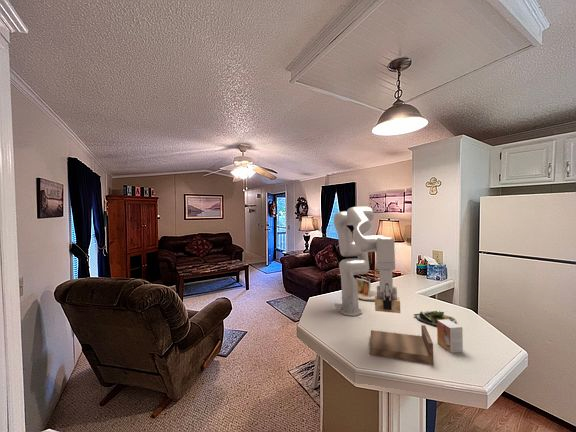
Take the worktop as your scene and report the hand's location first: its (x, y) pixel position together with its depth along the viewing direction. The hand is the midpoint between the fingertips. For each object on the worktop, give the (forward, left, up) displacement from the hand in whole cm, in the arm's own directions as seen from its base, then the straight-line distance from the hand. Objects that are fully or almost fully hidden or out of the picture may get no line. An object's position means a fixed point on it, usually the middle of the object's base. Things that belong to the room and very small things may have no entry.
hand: (387, 306), depth 107 cm
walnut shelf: (+4, -1, -18) cm, 18 cm away
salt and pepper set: (0, 0, -2) cm, 2 cm away
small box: (+25, +6, -18) cm, 31 cm away
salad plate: (+25, +34, -18) cm, 46 cm away
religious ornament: (-9, +64, -18) cm, 67 cm away
